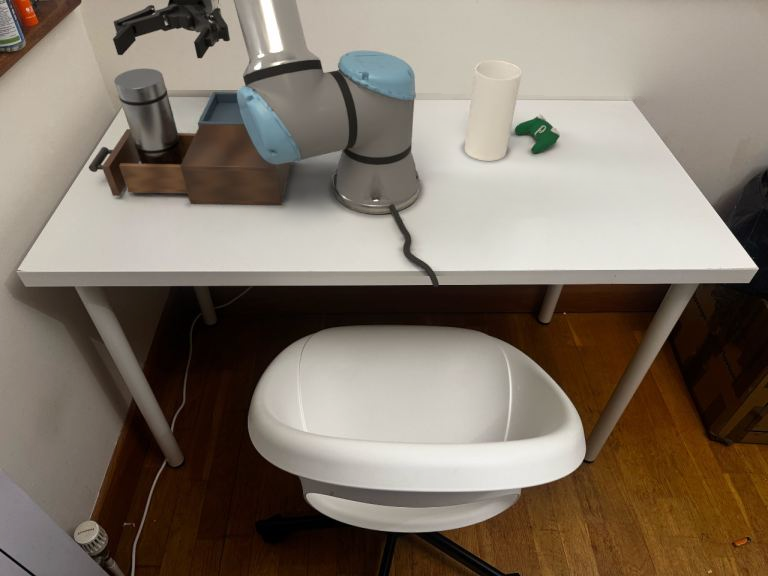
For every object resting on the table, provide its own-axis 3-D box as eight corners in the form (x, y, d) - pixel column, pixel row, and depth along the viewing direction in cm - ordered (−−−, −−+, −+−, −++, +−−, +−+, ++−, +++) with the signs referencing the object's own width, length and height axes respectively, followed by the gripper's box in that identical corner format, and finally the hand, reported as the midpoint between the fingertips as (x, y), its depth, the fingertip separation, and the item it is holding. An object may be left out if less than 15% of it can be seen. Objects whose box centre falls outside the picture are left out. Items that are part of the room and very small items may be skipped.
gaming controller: (541, 161, 112) (566, 139, 110) (532, 151, 109) (557, 128, 107) (520, 138, 118) (543, 117, 116) (511, 128, 115) (534, 106, 113)
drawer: (88, 195, 96) (75, 166, 92) (113, 156, 105) (103, 128, 101) (197, 197, 97) (190, 168, 92) (213, 158, 105) (207, 130, 101)
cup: (514, 156, 109) (530, 76, 98) (476, 164, 107) (489, 83, 96) (493, 136, 115) (506, 57, 104) (457, 143, 113) (466, 64, 101)
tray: (277, 104, 123) (276, 93, 121) (267, 135, 113) (266, 124, 112) (215, 102, 123) (212, 91, 121) (200, 134, 113) (197, 123, 112)
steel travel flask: (195, 171, 100) (171, 78, 88) (157, 187, 96) (127, 93, 85) (174, 155, 104) (148, 64, 92) (137, 170, 100) (105, 77, 88)
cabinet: (190, 203, 97) (180, 165, 91) (208, 160, 106) (200, 124, 101) (281, 205, 97) (276, 167, 92) (291, 162, 107) (287, 125, 101)
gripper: (260, 26, 112) (235, 73, 97) (135, 22, 113) (91, 67, 98) (254, -14, 107) (227, 28, 92) (124, -19, 107) (76, 22, 92)
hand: (157, 48), depth 95 cm, fingers open, 13 cm apart
